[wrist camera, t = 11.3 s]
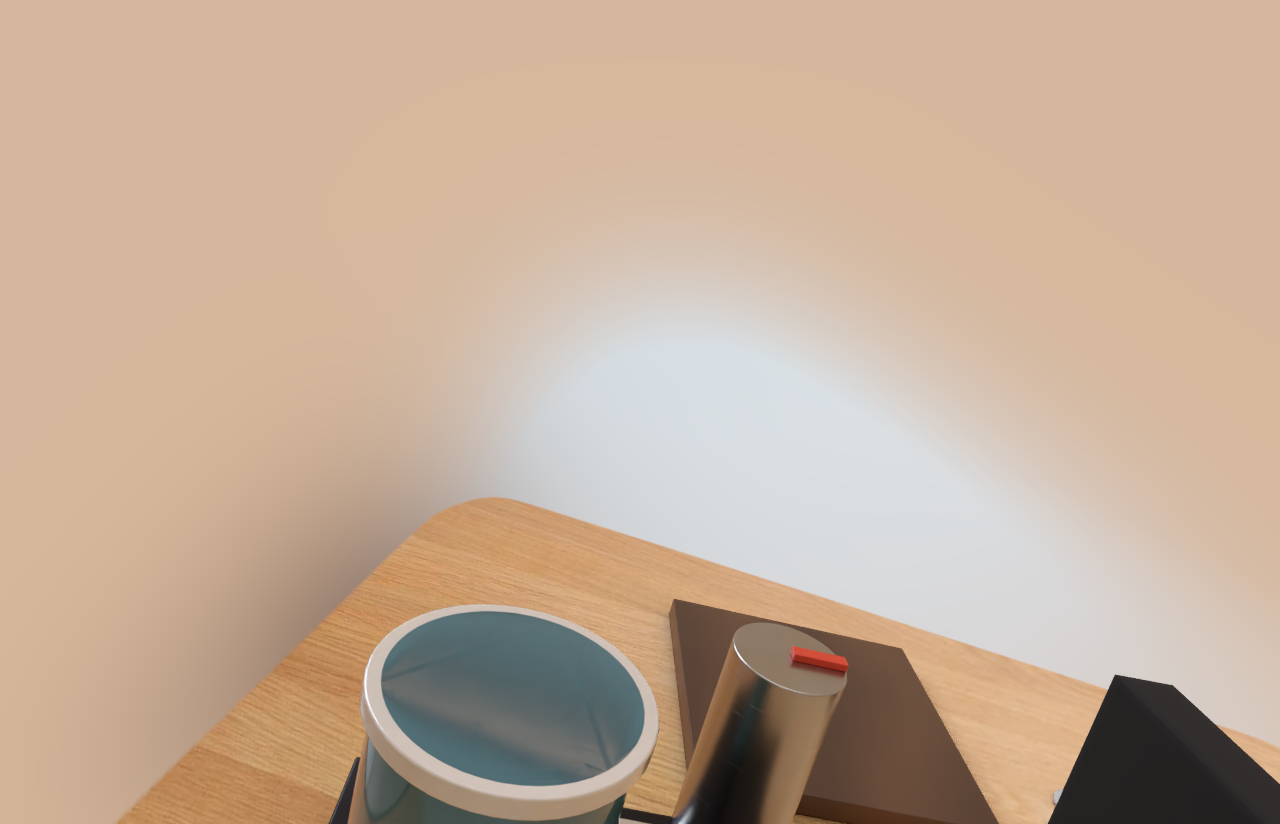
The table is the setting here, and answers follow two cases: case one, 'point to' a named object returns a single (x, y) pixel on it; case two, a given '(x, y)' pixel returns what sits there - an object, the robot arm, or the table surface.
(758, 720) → the knob
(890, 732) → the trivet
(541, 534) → the table surface
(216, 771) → the table surface
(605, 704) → the pot
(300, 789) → the table surface
